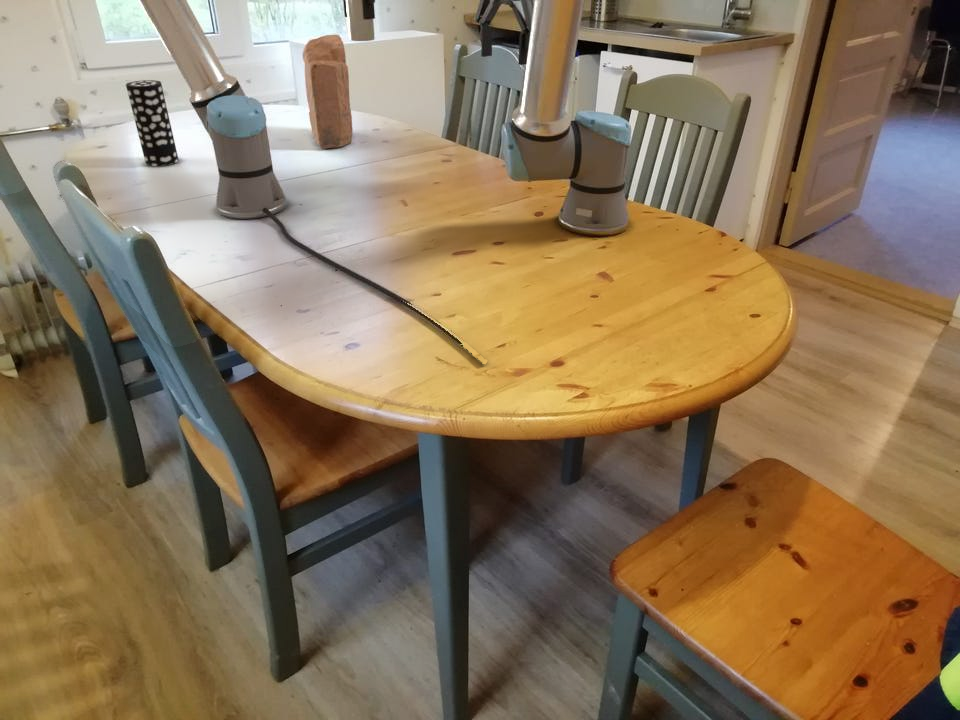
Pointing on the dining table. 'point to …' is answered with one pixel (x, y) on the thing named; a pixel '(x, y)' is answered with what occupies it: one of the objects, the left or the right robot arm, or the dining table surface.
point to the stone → (328, 91)
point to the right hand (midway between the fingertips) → (504, 60)
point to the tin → (358, 22)
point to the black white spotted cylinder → (152, 122)
